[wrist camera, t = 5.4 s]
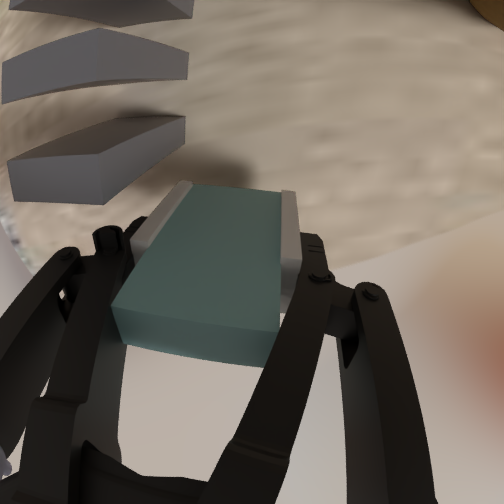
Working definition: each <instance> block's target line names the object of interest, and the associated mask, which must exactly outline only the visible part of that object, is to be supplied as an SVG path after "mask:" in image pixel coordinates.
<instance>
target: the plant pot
mask: <svg viewBox="0 0 504 504" xmlns="http://www.w3.org/2000/svg"><path fill="white" fill-rule="evenodd" d="M469 1H470V3H471V4H472V5H473V7H474V8H475V9H476V10H477V11H478V12H479V13H480V14H481V15H482V16H483V17H484V18H485V19H487V20H488V21H489V22H491V23H492V24H493V25H495V26H496V27H498V28H499V29H501V30H503V31H504V0H469Z"/></svg>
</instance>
